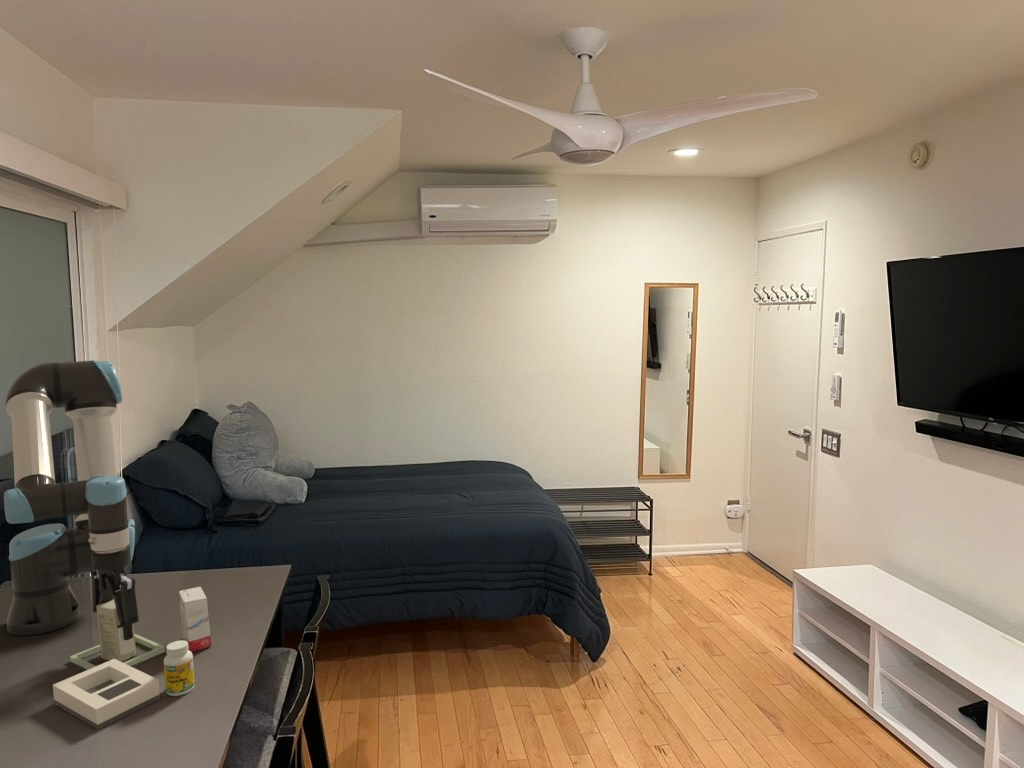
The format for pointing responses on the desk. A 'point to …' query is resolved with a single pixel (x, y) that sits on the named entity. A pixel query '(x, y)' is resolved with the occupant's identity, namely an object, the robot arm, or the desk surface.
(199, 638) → the ink box
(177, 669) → the supplement bottle
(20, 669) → the desk surface
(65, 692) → the block
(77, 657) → the tray rim
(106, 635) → the skincare box
